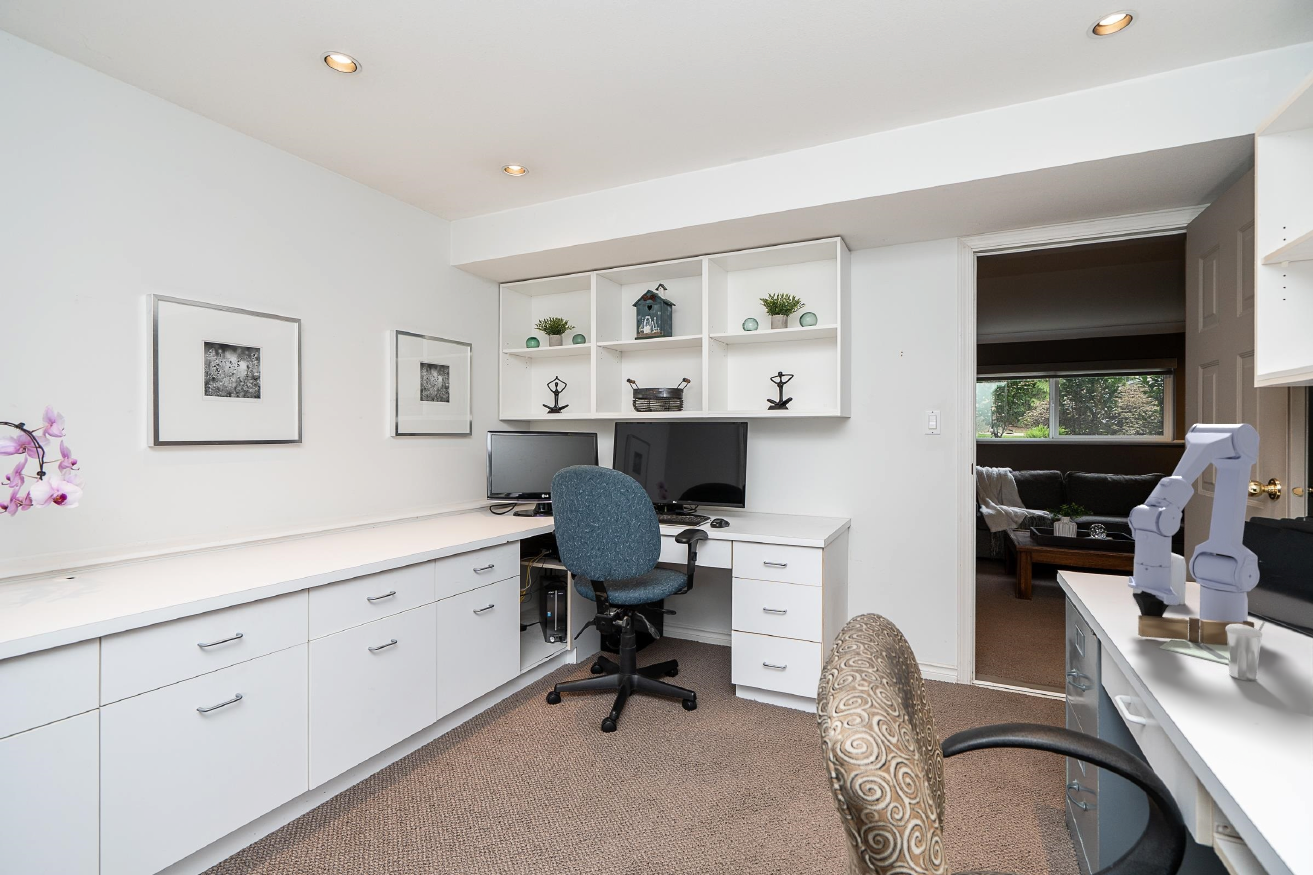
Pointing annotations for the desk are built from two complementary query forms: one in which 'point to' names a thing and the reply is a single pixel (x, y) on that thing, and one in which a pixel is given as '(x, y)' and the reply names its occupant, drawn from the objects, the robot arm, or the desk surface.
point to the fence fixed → (1210, 630)
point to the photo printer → (1175, 577)
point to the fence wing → (1163, 627)
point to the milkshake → (1243, 650)
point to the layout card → (1199, 649)
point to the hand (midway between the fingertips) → (1151, 629)
